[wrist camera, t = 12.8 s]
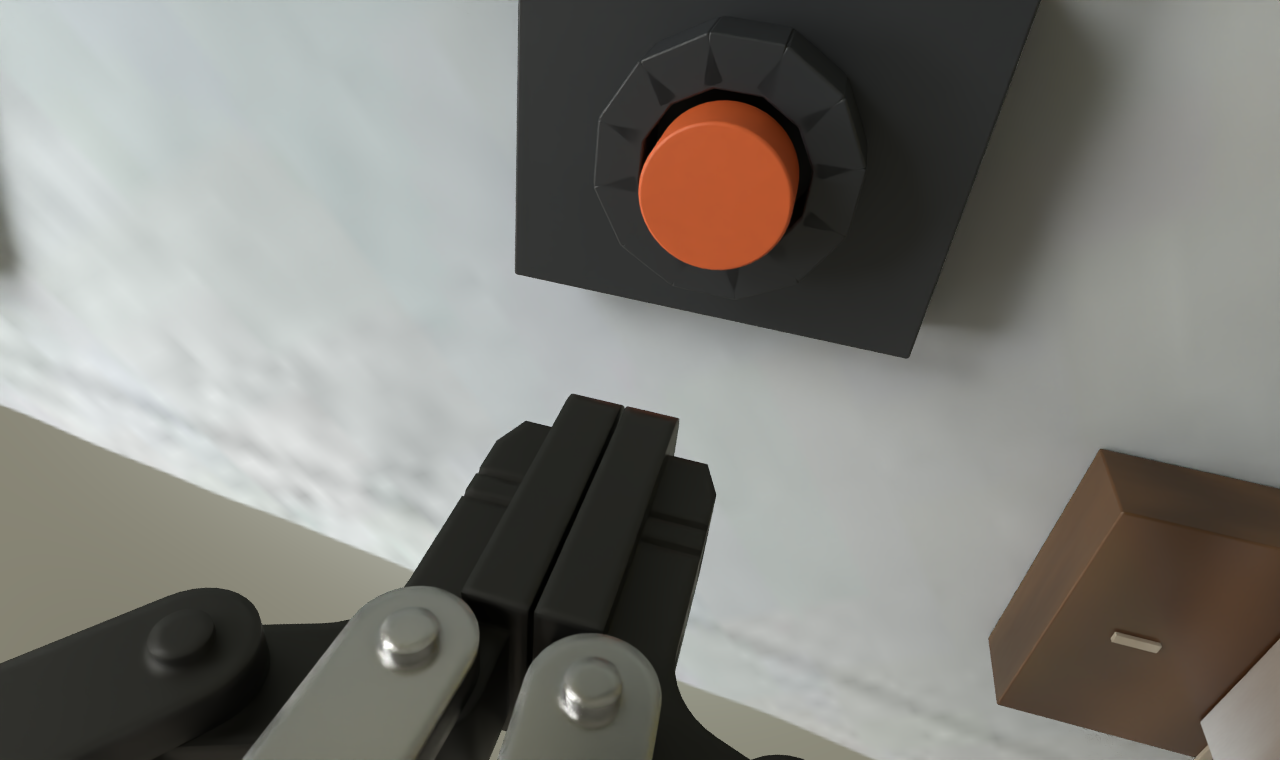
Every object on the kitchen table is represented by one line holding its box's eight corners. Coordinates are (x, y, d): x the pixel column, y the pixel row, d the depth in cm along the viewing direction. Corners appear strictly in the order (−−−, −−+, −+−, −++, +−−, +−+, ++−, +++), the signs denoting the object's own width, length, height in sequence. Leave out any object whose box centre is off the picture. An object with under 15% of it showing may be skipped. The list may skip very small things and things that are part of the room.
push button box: (1033, -36, 19) (1064, -5, 16) (906, 321, 25) (910, 396, 22) (549, -109, 21) (488, -94, 17) (538, 243, 26) (491, 302, 23)
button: (815, 113, 19) (809, 138, 17) (782, 253, 21) (775, 285, 19) (663, 86, 19) (645, 108, 18) (646, 225, 21) (630, 255, 20)
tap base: (1593, 555, 24) (1676, 642, 21) (1372, 739, 30) (1417, 823, 27) (1101, 444, 26) (1125, 513, 23) (986, 639, 32) (995, 710, 29)
